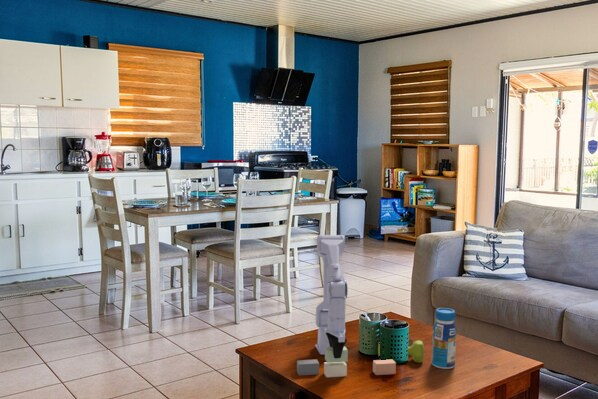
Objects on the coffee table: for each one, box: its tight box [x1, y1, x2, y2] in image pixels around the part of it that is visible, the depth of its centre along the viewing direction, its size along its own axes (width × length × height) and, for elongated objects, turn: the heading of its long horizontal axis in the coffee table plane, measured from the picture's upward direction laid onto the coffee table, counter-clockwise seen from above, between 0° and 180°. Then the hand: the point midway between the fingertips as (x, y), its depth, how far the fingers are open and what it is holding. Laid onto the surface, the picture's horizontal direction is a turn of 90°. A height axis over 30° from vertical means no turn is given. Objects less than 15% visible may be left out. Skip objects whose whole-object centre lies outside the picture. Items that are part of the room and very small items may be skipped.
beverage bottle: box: [431, 307, 458, 370], centre depth 209 cm, size 8×8×20 cm
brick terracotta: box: [372, 359, 397, 376], centre depth 202 cm, size 4×7×4 cm, turn 101°
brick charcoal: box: [296, 358, 320, 376], centre depth 201 cm, size 4×7×4 cm, turn 101°
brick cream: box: [323, 362, 348, 378], centre depth 200 cm, size 4×7×4 cm, turn 101°
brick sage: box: [324, 345, 349, 363], centre depth 200 cm, size 4×7×4 cm, turn 101°
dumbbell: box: [377, 339, 425, 363], centre depth 214 cm, size 16×8×7 cm, turn 80°
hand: (335, 355), depth 200 cm, fingers closed on brick sage, 3 cm apart
